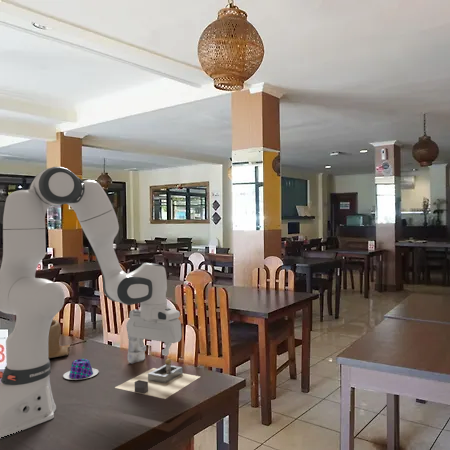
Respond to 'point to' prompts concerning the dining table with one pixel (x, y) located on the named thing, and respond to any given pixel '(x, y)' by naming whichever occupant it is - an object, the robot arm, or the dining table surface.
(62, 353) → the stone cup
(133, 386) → the board
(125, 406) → the dining table surface
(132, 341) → the plastic bottle
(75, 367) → the plaid fedora hat
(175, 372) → the steel link
